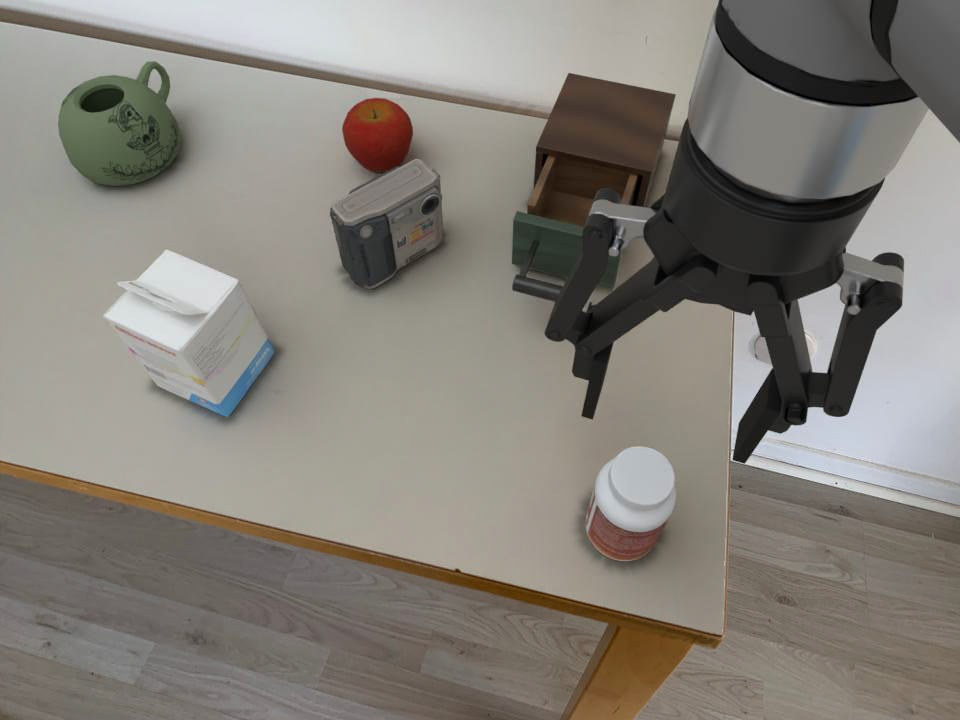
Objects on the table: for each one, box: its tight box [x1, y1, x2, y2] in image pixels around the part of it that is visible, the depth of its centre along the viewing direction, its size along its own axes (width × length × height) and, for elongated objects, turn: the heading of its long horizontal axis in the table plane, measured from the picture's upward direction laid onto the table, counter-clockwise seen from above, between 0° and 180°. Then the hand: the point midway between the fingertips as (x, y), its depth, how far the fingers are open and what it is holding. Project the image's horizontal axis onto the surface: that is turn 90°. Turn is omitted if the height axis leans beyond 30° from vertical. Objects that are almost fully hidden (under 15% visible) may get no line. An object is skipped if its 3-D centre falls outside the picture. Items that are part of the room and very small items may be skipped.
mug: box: [57, 60, 182, 187], centre depth 85 cm, size 16×13×9 cm
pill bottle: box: [584, 445, 677, 562], centre depth 58 cm, size 6×6×11 cm
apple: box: [341, 97, 414, 173], centre depth 84 cm, size 8×8×8 cm
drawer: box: [511, 155, 639, 303], centre depth 74 cm, size 18×11×7 cm, turn 161°
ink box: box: [102, 249, 276, 418], centre depth 66 cm, size 9×8×13 cm
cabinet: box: [533, 72, 677, 207], centre depth 81 cm, size 13×12×9 cm
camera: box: [329, 158, 444, 290], centre depth 75 cm, size 11×6×10 cm, turn 126°
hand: (665, 421), depth 46 cm, fingers open, 9 cm apart
